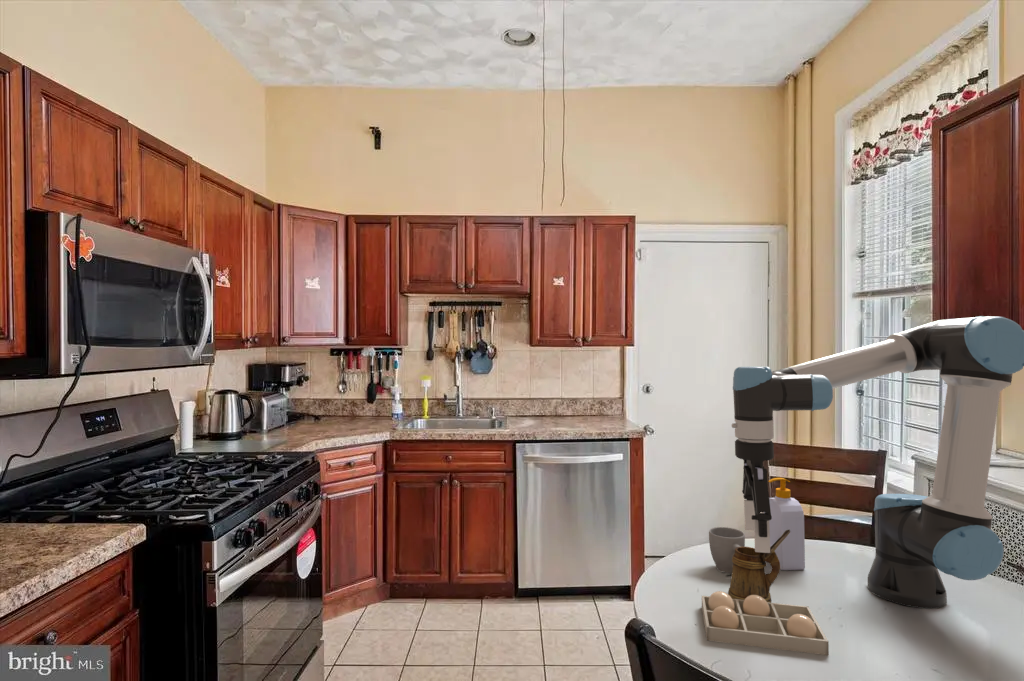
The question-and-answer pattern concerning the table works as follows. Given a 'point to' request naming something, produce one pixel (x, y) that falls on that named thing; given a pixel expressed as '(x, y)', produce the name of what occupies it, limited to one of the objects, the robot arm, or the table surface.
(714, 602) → the seated egg
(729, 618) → the seated egg
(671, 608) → the table surface
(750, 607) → the egg
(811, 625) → the seated egg
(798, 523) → the soap bottle
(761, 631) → the carton
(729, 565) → the mug
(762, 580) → the wooden mug
